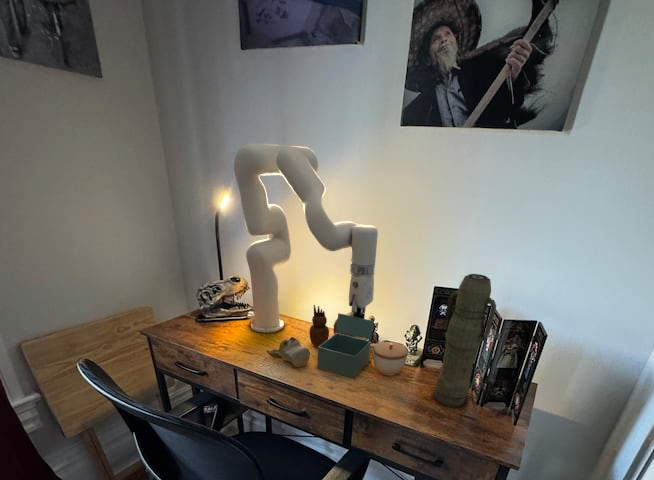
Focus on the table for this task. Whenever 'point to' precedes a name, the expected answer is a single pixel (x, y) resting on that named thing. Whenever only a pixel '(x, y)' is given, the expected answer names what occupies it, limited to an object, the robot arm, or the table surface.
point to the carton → (344, 355)
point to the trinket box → (389, 357)
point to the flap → (355, 326)
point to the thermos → (463, 337)
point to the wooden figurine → (319, 328)
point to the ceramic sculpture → (291, 352)
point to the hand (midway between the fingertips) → (358, 324)
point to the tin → (336, 325)
